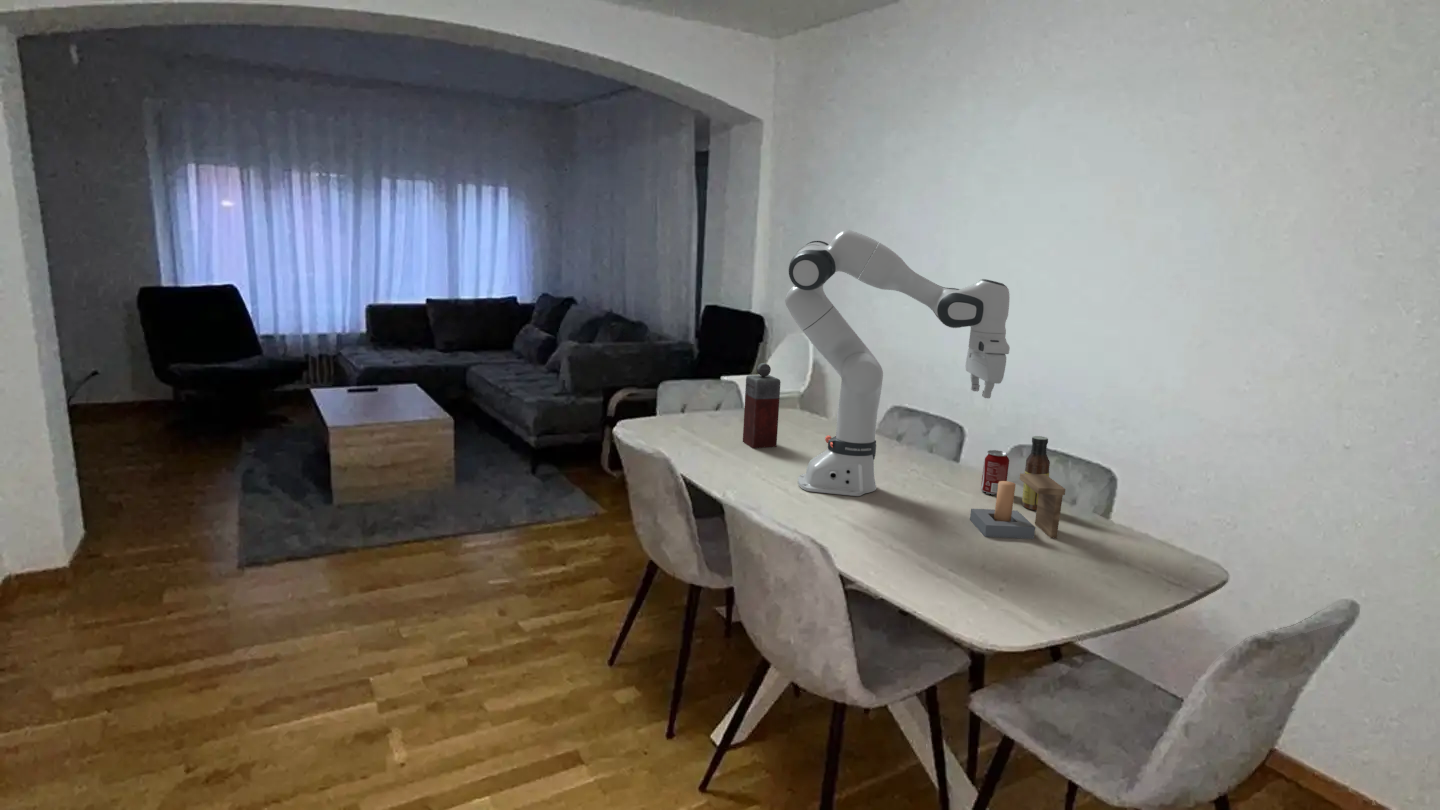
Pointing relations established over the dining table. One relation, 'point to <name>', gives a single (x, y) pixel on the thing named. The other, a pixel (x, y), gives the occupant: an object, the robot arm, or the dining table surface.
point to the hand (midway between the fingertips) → (980, 394)
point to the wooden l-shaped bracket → (1046, 501)
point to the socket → (1002, 525)
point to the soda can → (994, 471)
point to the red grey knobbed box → (761, 409)
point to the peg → (1004, 501)
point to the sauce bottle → (1035, 469)
